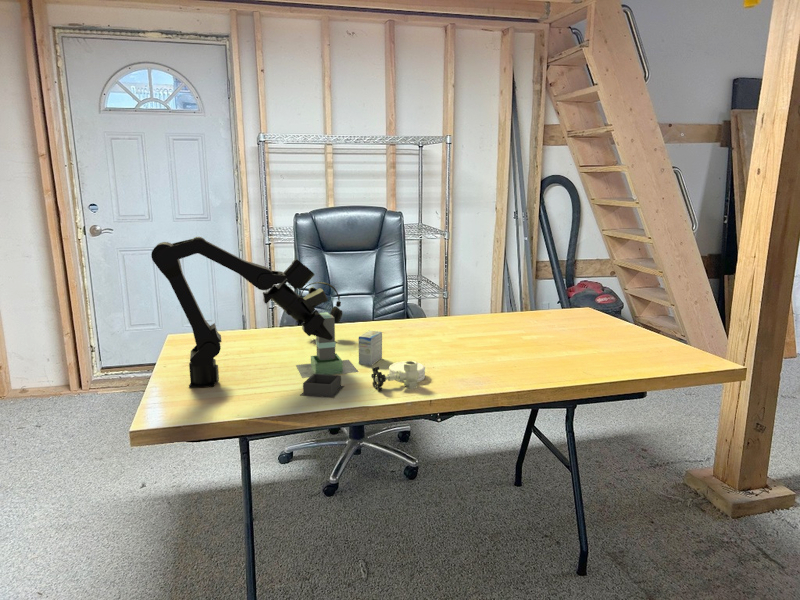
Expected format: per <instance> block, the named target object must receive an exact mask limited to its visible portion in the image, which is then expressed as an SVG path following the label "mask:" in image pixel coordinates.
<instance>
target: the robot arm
mask: <svg viewBox="0 0 800 600" xmlns="http://www.w3.org/2000/svg"><path fill="white" fill-rule="evenodd" d="M197 254H199V255H201V256H203V257H205V258H208V259H209V260H211V261H212V262H214V263H217V264H219V265H220V266H223V267H225V268H227V269H229V270H231V271H233V272H235V273H236V274H238V275H240V276H241V277H243V279H245V280H246V281H247V282H249V283H250V284H251V285H253V286H254V287H255V288H257V289H258V290H261V291H266V292H262V296H263V302H264V304H268V303H269V302H270V301H272V302H274V303H275V304H277V306H279V307H280V309H282V310H283V311H284V312H285V313H286V314H287V315H288V316H290V317H291V318H292V319H293V320H295V321H296V322H297V324H298V325H299V326H301V329H302V331H303V332H304V333H305V334H306V335H307V336H308V337H310V336H314V337H316V336H318V337H321V338H324V339H328V340H332V338H333V337H332V335H331V334H330V333H329V332H328V330H327V329H326V328H325V326H324V325H323V322H324V320H325V319H324V318H323V317H322V316H321V315H320V314H319V313H320V312H319V311H318V310H317V309H316V308H315V307H318V306H320V305H321V304H323V303H326V302H328V301H329V299H328V297H327V295H326V292H325V291H324V290H323V288H319V287H318V288H316V287H314V286H311V287H309V288H308V293H307V294H306V295H305V296H304V297H303V295H302V296H301V294H298V293H296V291H295V290H299V289H301V290H303V289H304V288H305V287H306V286H307V285H308V283H309V281H310V280H311V279H312V278H313V277H315V275H316V274H315V273H314V272H313V271H312V270H311V269H310V268H309V267H307V266H306V265H305V264H303V263H302V262H301V261H300V260H299V259H298V258H295V259H294V260H293V261H292V262H291V263H290V265H289V266H288V267H287V268H286V269H285V271H284V272H283V271H280V270H278V271H277V270H271V269H270V268H269V267H267V266H265V265H262V264H258V263H255V262H252V261H247V260H244V259H242V258H241V257H238V256H237V255H235V254H233V253H231V252H229V251H227V250H225V249H223V248H221V247H220V246H217V245H215V244H213V243H212V242H210V241H209V240H206V239H205V238H204V237H202V236H195V237H193V238H189V239H186V240H180V241H178V242H174V243H171V242H169V241H162V242H159V243H157V244H156V245H155V246H154V247H153V249H152V251H151V256H150V257H151V260H152V261H153V263H154V264H155V265H156V267H157V268H158V270H159V271H160V272H161V273H162V275H163V276H164V277H165V278H166V279H167V280H168V283H169V284H170V287H171V289H172V290H173V292H174V294H175V296H176V298H177V300H178V302H179V305H180V306H181V308H182V310H183V312H184V315H185V316H186V319H187V320H188V323H189V324H190V326H191V329H192V333H193V337H194V342H195V346H194V347H193V348H192V349H191V350H190V355H189V357H190V358H189V363H188V367H189V378H190V383H189V384H188V387H189V388H203V387H204V388H205V387H206V388H207V387H208V388H209V387H214V386H215V385H216V384H217V382H218V381H219V379H220V375H219V373H220V372H219V365H218V364H217V361H216V358H215V357H217V356H218V355H219V353H220V352H221V343H222V336H221V334H220V333H219V332H218V329H217V327H216V323H215V322H214V323H213V324H211V325H210V323H208V322H207V320H206V319H205V317H204V315H203V313H202V309H201V308H200V306H199V304H198V302H197V300H196V298H195V296H194V294H193V291H192V290H191V288H190V286H189V283H188V281H187V279H186V277H185V275H184V272H183V268H182V265H181V260H180V259H184V258H185V259H186V258H188V257H190V256H193V255H197ZM287 283H288V284H289V285H288V284H287ZM290 286H291V287H290ZM292 288H293V289H294V290H293V289H292ZM267 290H268V291H267ZM312 312H313V313H312Z"/></svg>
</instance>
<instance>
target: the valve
mask: <svg viewBox="0 0 800 600" xmlns="http://www.w3.org/2000/svg"><path fill="white" fill-rule="evenodd" d="M405 361H406V360H405ZM417 363H418V362H417V361H415V360H407V361H406V362H405V363H404V371H401V370H399V371H397V372H396V373H395V375H394V374H389V373H388V374H387V375H386V374H383V373H382V371H379V370H380V367H379V366H374V367H372V368H371V369H372V370H371V371H372V373H371V379H373V381H372V383H371V384H372V386H373V387H374V389H375V390H377V391H378V392H381V391H383V386H384V383H386V381H388V382H392V381H397V382H398V383H400V382H401V383H402V382H403V386H404V388H406V389H411V390H412V389H416V388H418V382H417V379H418V376H419V373H418V370H417ZM394 379H395V380H394ZM403 380H405V381H403Z"/></svg>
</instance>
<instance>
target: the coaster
mask: <svg viewBox="0 0 800 600" xmlns="http://www.w3.org/2000/svg"><path fill="white" fill-rule="evenodd" d="M405 362H406V360H405V361H404V360H402V361H397V362H394V363H391V364H390V365H389V367H388V374H394V375H395V373H396V372H397V371H399V370H401V371H404V363H405ZM417 370H418V373H419V376H418V379H417V383H420V382H422V381H424V380H425V378H426V375H425V374H426V366H425V365H424V364H422V363H420V362H417ZM393 381H396V380H395V379H394V380H393ZM404 381H405V380H403V381H402V382H404Z"/></svg>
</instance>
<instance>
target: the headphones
mask: <svg viewBox="0 0 800 600" xmlns="http://www.w3.org/2000/svg"><path fill="white" fill-rule="evenodd" d="M315 284H321V285H326V286H328V287H330V288H332V289H333V291H334V292H335V293H336V296H337V301H336V304H335V306H333V307H332V309H331V310H330V313H329V314H331V315H332V316H333V317H334V318H335V324H338V323H339V322H341V319H342V316H343V314H344V313H343V312H344V311H343V310H341V309H340V307H341V305H342V304H341V303H342V302H341V301H340V299H341V294H339V292H338V291H337V290H336V288H335V286H333V285H332V284H330V283H328V282H324V281H322V282H321V281H317V282H311V283H309V284H306V285H305V286H304V287H303V288H302V291H301V293H300V295H301V296H302V297H303V293H304V292H305V290H306V289H307V287H308V286H311V285H315ZM313 312H314V311H313ZM313 312H312V313H313ZM335 342H336V344H337V343H338V342H337V341H336V340H335Z"/></svg>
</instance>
